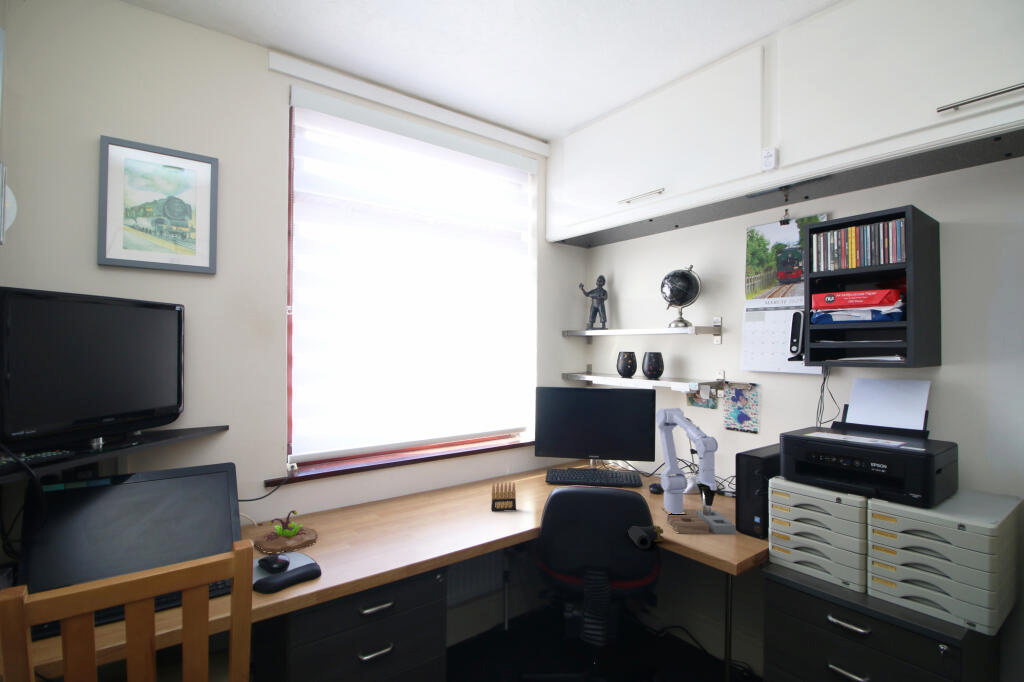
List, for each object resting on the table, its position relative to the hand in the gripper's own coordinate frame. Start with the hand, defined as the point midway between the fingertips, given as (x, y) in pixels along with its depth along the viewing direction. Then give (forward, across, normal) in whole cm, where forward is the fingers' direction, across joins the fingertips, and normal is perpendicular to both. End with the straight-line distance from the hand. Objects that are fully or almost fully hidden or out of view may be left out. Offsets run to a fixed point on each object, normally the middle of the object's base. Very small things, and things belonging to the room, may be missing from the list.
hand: (707, 504), depth 191 cm
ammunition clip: (+10, -21, -80) cm, 83 cm away
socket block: (+10, -1, -7) cm, 12 cm away
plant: (+10, +17, -156) cm, 157 cm away
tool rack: (+10, -4, +5) cm, 11 cm away
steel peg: (+4, 0, 0) cm, 4 cm away
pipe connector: (+10, +12, -27) cm, 31 cm away
